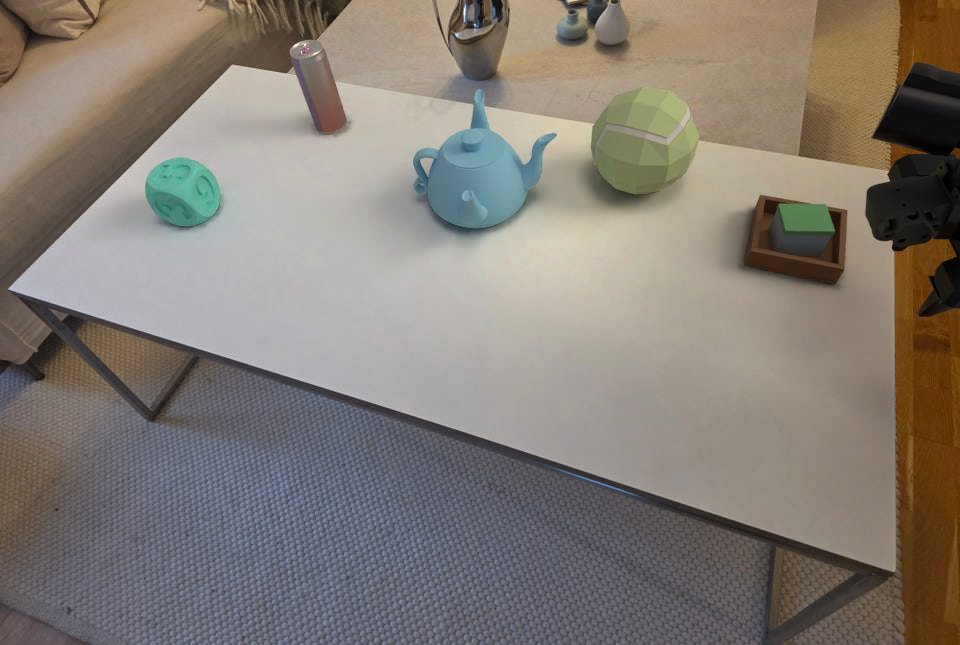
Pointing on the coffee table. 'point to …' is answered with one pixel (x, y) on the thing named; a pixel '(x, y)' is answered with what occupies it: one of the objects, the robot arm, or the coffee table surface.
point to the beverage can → (318, 86)
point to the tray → (807, 267)
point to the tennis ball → (644, 140)
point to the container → (801, 229)
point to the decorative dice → (182, 191)
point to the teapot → (478, 174)
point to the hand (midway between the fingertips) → (909, 281)
